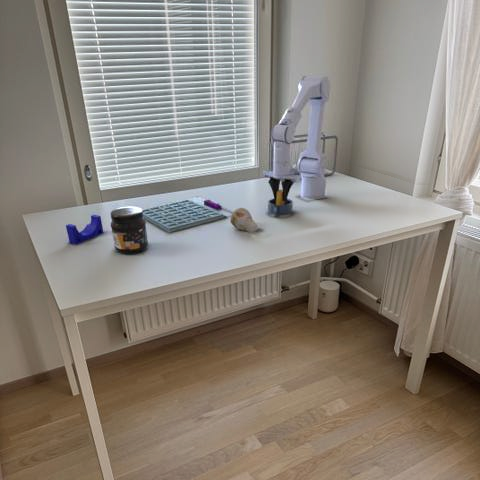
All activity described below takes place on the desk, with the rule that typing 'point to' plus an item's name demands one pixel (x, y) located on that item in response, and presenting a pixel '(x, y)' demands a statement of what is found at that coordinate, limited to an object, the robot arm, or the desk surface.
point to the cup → (280, 207)
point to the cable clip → (85, 230)
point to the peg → (279, 198)
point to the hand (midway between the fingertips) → (280, 199)
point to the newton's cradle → (295, 167)
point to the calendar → (183, 213)
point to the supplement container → (129, 230)
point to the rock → (243, 220)
